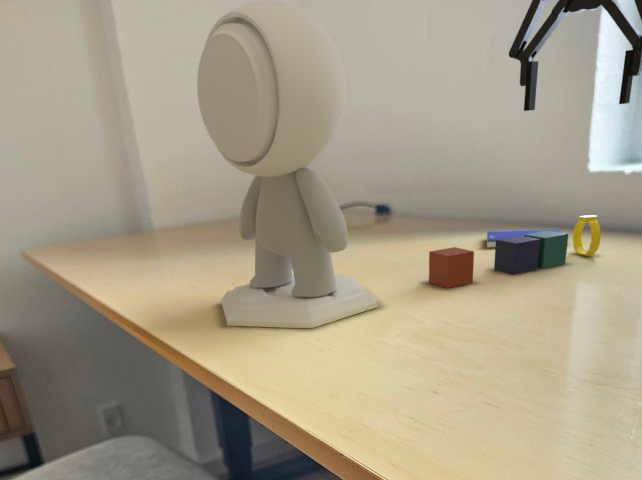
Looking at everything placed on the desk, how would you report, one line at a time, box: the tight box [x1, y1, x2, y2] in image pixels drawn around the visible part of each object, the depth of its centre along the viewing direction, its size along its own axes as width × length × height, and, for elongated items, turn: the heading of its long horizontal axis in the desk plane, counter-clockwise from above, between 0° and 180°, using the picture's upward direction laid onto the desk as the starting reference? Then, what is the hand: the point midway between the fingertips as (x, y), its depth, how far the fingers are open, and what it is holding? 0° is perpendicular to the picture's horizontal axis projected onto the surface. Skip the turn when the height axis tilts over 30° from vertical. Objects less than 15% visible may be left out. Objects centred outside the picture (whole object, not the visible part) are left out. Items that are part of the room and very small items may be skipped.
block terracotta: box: [428, 246, 475, 289], centre depth 94 cm, size 4×4×4 cm
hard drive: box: [486, 228, 560, 249], centre depth 117 cm, size 2×8×12 cm
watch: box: [572, 214, 602, 257], centre depth 104 cm, size 6×3×6 cm, turn 8°
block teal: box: [524, 231, 569, 270], centre depth 101 cm, size 4×4×4 cm
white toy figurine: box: [196, 0, 379, 329], centre depth 82 cm, size 20×23×35 cm
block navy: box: [493, 236, 540, 275], centre depth 99 cm, size 4×4×4 cm
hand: (574, 107), depth 97 cm, fingers open, 13 cm apart
